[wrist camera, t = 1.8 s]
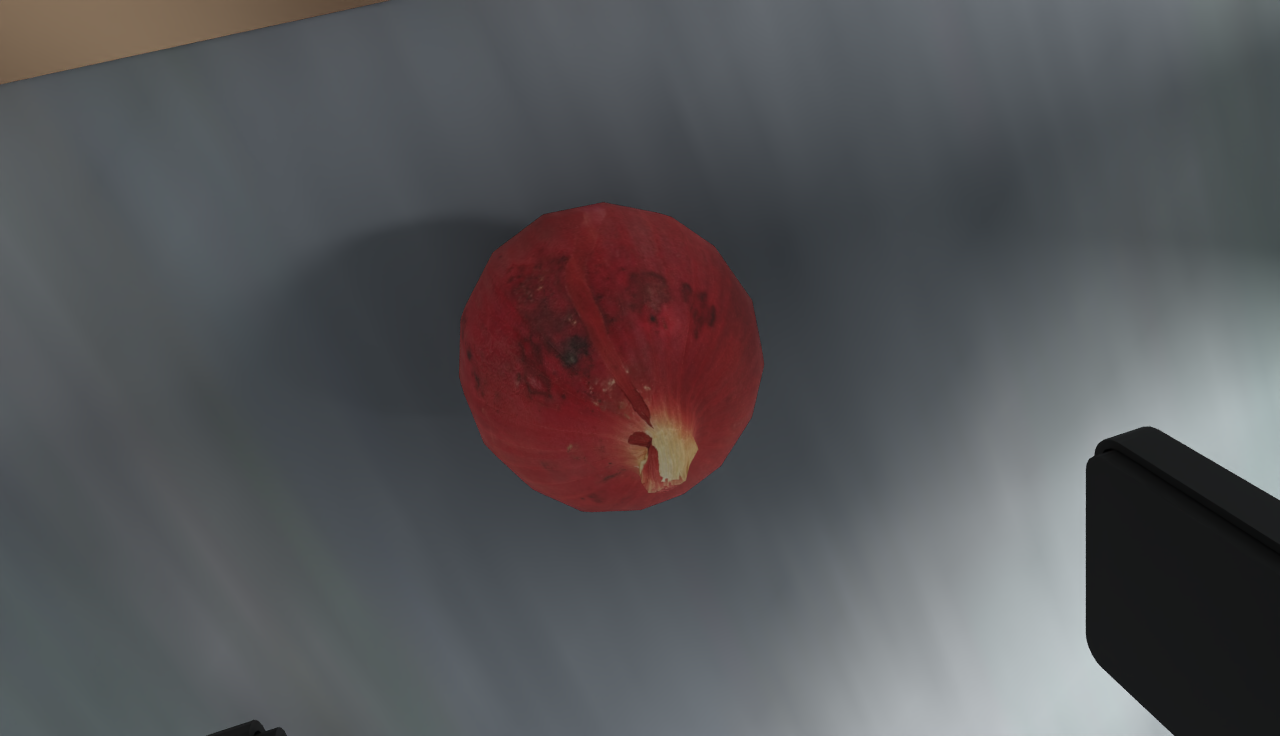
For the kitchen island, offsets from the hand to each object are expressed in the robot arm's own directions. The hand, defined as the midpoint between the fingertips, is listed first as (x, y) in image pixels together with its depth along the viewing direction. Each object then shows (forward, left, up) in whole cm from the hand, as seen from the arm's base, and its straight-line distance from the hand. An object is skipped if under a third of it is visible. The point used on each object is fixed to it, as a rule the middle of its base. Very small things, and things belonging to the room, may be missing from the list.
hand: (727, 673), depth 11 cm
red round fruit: (-1, 0, -13) cm, 13 cm away
